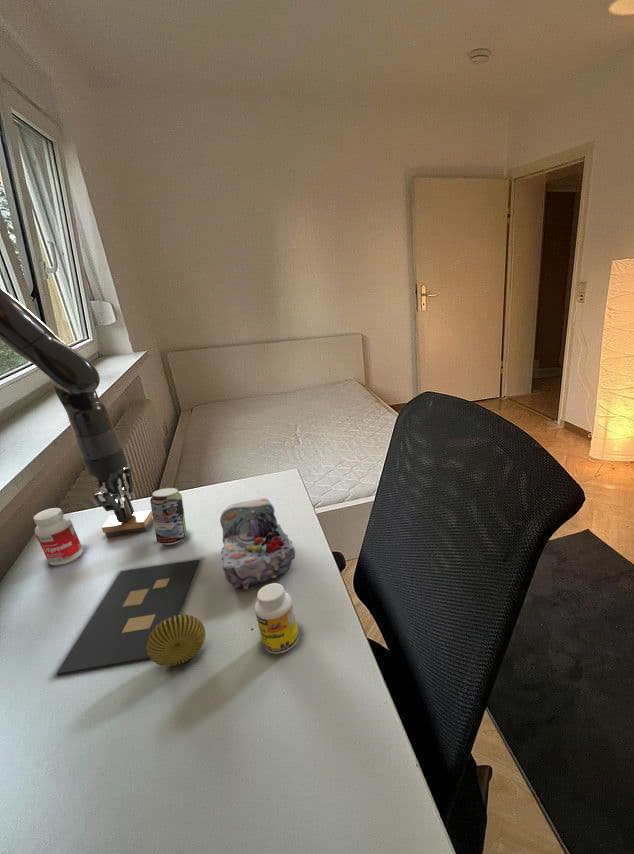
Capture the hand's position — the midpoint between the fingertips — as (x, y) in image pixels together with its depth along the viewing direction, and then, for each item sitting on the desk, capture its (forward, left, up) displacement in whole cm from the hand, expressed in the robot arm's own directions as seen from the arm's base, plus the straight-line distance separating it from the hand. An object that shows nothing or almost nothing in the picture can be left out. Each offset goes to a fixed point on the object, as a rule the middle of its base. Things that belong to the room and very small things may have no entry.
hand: (126, 517), depth 102 cm
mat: (+12, -29, -3) cm, 32 cm away
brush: (0, 0, -3) cm, 3 cm away
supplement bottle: (+38, -42, -3) cm, 57 cm away
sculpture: (+23, -42, -3) cm, 48 cm away
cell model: (+31, -20, -3) cm, 37 cm away
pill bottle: (-10, -8, -3) cm, 13 cm away
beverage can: (+12, -7, -3) cm, 14 cm away
